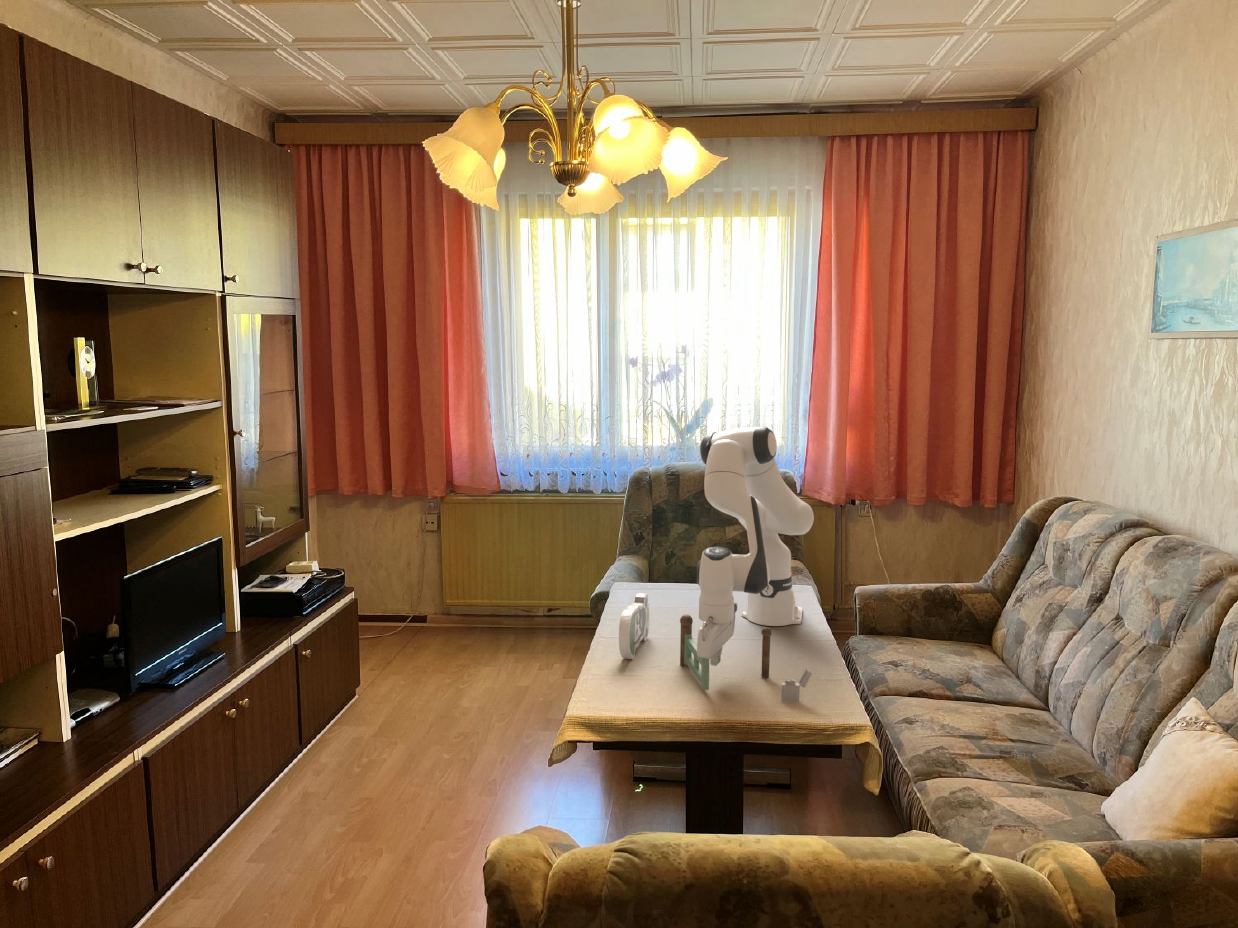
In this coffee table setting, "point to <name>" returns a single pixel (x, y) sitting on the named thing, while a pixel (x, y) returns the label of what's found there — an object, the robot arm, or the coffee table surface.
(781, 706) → the coffee table surface
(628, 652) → the cutout
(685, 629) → the gate posts
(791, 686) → the lighter
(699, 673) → the gate
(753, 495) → the robot arm
